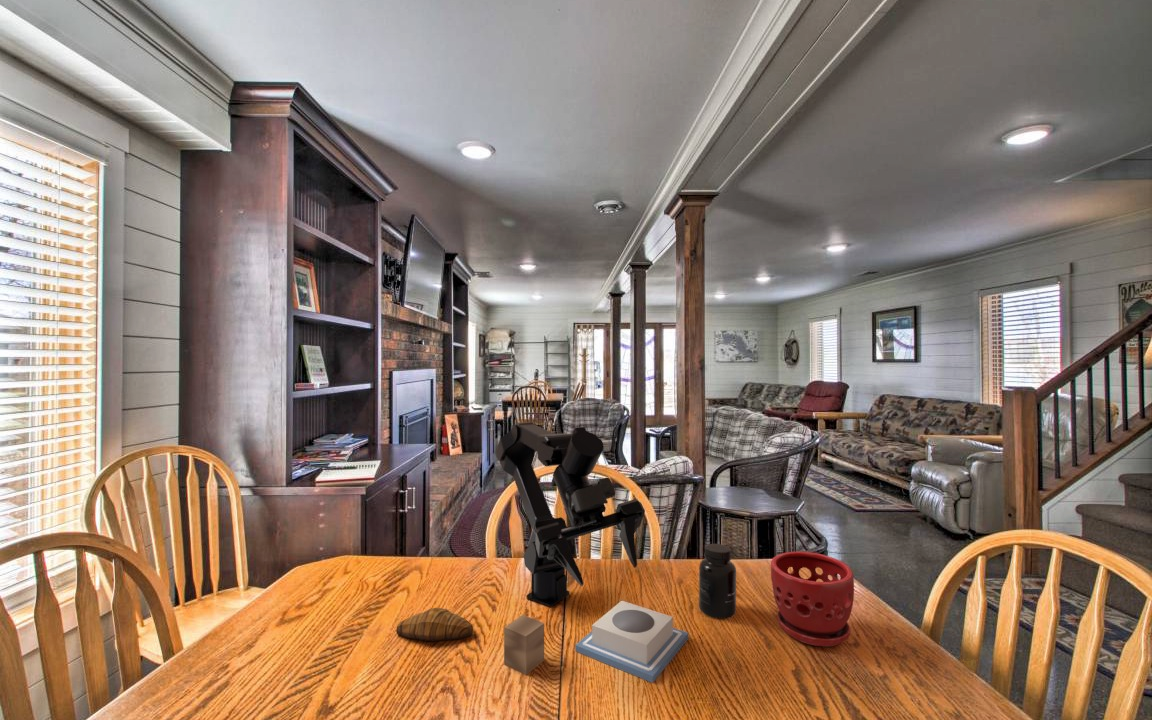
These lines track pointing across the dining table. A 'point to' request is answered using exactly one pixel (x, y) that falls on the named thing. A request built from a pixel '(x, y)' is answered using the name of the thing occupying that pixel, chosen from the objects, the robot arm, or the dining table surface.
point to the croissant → (435, 626)
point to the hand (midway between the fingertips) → (609, 575)
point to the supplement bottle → (717, 582)
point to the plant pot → (813, 597)
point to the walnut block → (524, 644)
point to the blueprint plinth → (634, 640)
